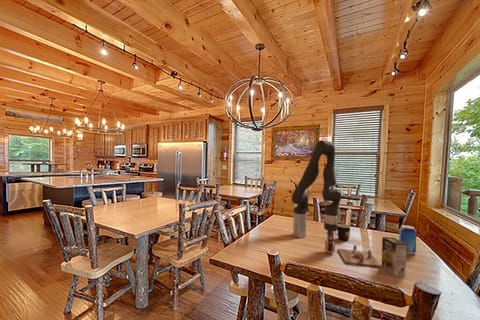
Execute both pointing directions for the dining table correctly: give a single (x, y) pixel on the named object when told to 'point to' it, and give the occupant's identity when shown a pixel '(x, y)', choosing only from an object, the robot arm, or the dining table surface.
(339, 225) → the coffee mug
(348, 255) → the carrier
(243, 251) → the dining table surface
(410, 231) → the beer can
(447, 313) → the dining table surface
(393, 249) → the coffee box
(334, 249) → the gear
